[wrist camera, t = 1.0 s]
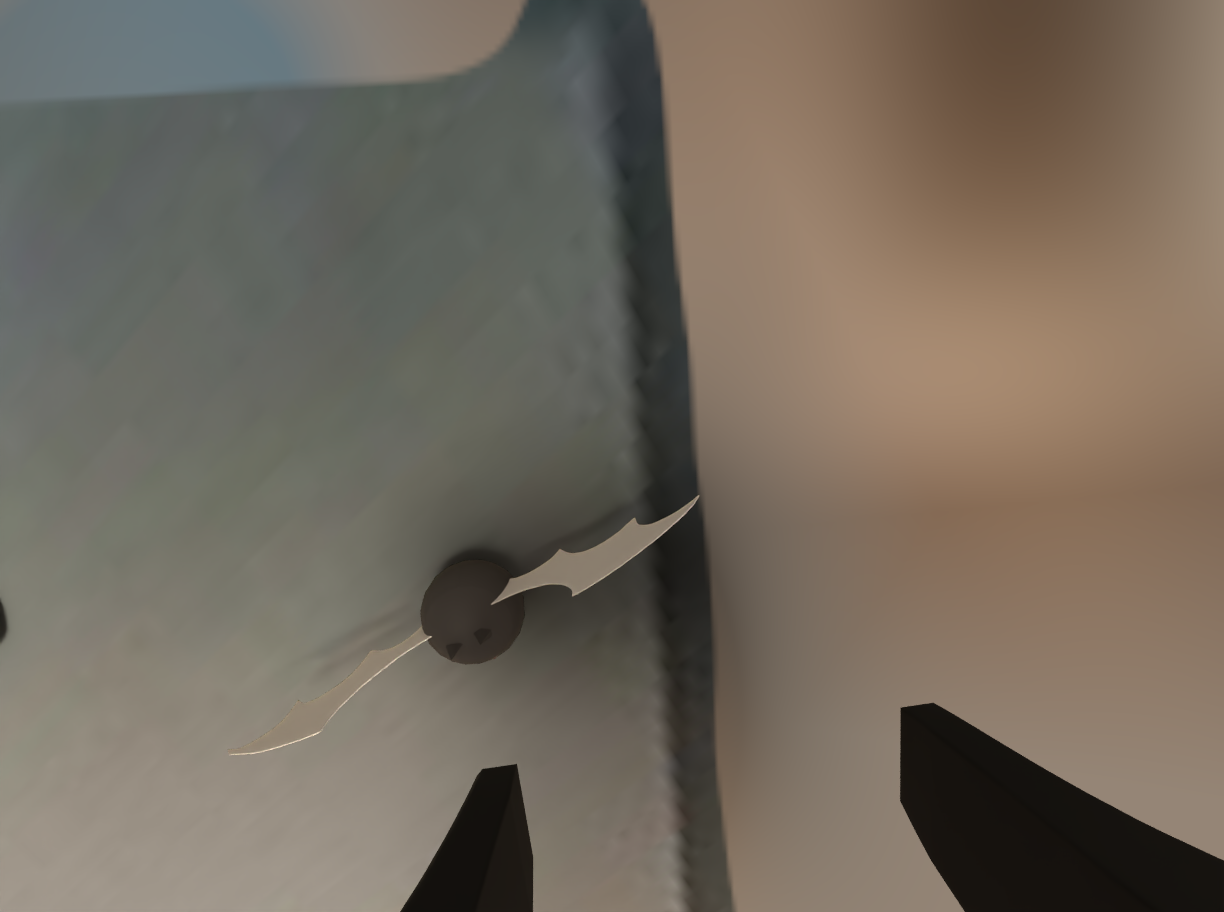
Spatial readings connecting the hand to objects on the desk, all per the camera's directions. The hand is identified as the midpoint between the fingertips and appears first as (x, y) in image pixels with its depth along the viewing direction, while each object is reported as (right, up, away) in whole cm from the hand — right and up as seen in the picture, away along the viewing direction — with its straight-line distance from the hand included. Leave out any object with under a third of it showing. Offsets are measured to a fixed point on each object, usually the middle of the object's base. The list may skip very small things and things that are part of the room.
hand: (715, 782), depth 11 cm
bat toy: (-6, +2, +9) cm, 11 cm away
